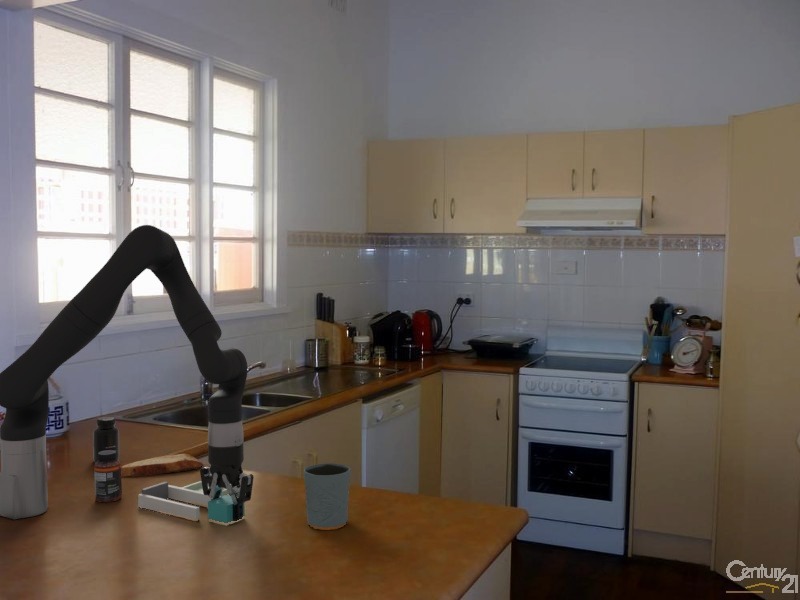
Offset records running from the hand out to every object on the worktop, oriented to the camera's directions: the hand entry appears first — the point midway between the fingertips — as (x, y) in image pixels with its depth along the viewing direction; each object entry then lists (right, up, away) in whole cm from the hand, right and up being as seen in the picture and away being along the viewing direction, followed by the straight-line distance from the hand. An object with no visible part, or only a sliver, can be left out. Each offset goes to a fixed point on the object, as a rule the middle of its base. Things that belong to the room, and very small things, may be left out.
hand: (227, 517), depth 172 cm
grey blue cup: (+22, -1, -2) cm, 22 cm away
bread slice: (-26, +1, +40) cm, 48 cm away
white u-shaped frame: (-12, 0, +7) cm, 14 cm away
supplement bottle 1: (-44, +2, +48) cm, 66 cm away
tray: (-8, +1, +19) cm, 20 cm away
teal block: (0, -1, 0) cm, 1 cm away
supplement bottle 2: (-31, 0, +15) cm, 34 cm away
